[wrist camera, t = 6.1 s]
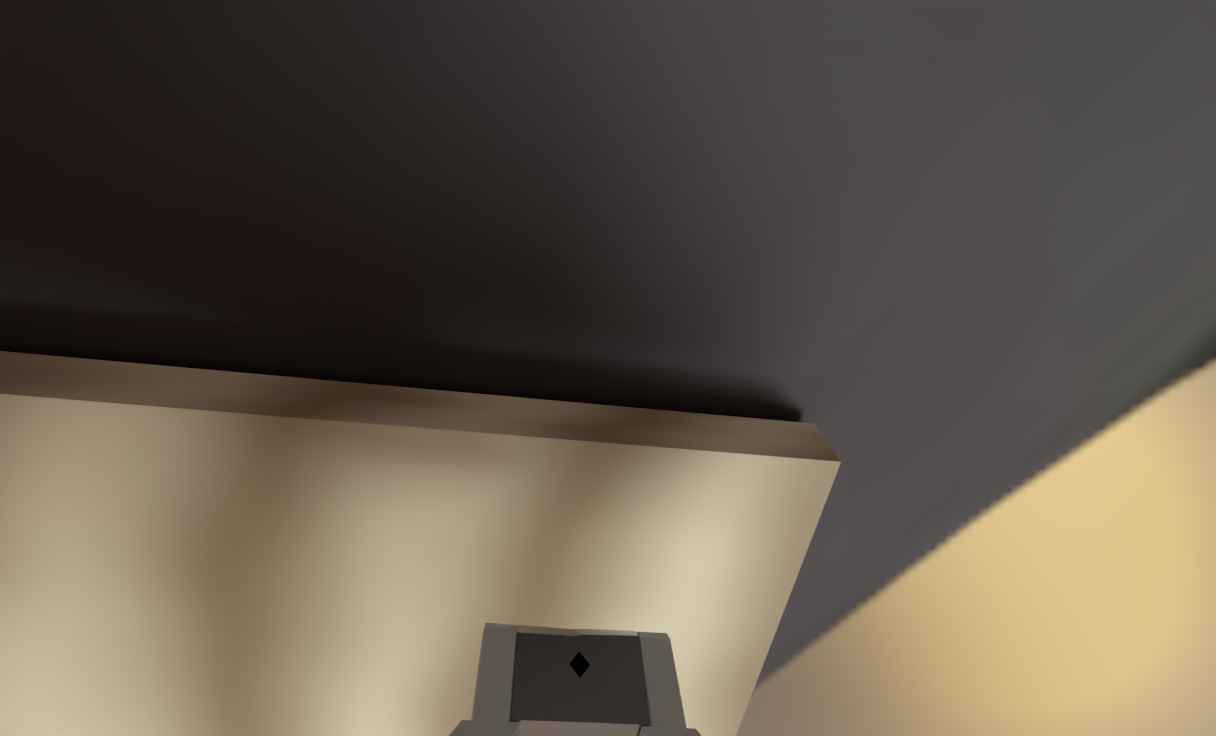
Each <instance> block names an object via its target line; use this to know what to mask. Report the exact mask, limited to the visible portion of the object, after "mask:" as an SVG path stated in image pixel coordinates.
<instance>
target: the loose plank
mask: <svg viewBox="0 0 1216 736" xmlns="http://www.w3.org/2000/svg"><path fill="white" fill-rule="evenodd" d="M840 463H841V461H840V459H839V458H838V457H837V455H836V454H835V452H834V451H833V449H832V448H831V446H830V445H829V443H828V442H827V440H826V439H825V438H824V436H823V435H822V433H821V432H820V430H819V429H818V427H817V426H816V424H813V423H802V422H791V421H779V420H768V419H757V418H746V417H735V416H723V415H712V414H701V413H690V412H678V411H667V410H656V409H645V408H634V407H622V406H611V405H600V404H589V403H577V402H566V401H555V400H544V399H533V398H521V397H510V396H499V395H488V394H476V393H465V392H454V391H443V390H431V389H420V388H409V387H398V386H387V385H375V384H364V383H353V382H342V381H330V380H319V379H308V378H297V377H286V376H274V375H263V374H252V373H241V372H229V371H218V370H207V369H196V368H185V367H173V366H162V365H151V364H140V363H128V362H117V361H106V360H95V359H84V358H72V357H61V356H50V355H39V354H27V353H16V352H5V351H0V736H449V735H450V733H451V732H452V731H453V730H454V729H455V727H456V726H457V725H458V724H459V722H460V721H461V720H471V718H472V710H473V703H474V696H475V688H476V681H477V673H478V666H479V658H480V651H481V644H482V636H483V630H484V627H485V623H499V624H513V625H516V626H517V625H528V626H540V627H552V628H564V629H577V628H579V629H603V630H627V631H635V632H654V633H667V634H668V636H669V638H670V640H671V645H672V651H673V656H674V662H675V667H676V673H677V678H678V683H679V689H680V694H681V700H682V705H683V711H684V716H685V721H686V727H687V728H694V729H697V731H698V732H699V733H700V734H701V736H736V734H737V731H738V729H739V726H740V723H741V721H742V718H743V716H744V713H745V710H746V708H747V705H748V703H749V700H750V697H751V695H752V692H753V690H754V687H755V684H756V682H757V679H758V677H759V674H760V671H761V669H762V666H763V664H764V661H765V658H766V656H767V653H768V651H769V648H770V645H771V643H772V640H773V638H774V635H775V632H776V630H777V627H778V625H779V622H780V619H781V617H782V614H783V612H784V609H785V606H786V604H787V601H788V599H789V596H790V593H791V591H792V588H793V586H794V583H795V580H796V578H797V575H798V573H799V570H800V567H801V565H802V562H803V560H804V557H805V554H806V552H807V549H808V547H809V544H810V541H811V539H812V536H813V534H814V531H815V528H816V526H817V523H818V521H819V518H820V515H821V513H822V510H823V508H824V505H825V502H826V500H827V497H828V495H829V492H830V489H831V487H832V484H833V482H834V479H835V476H836V474H837V471H838V469H839V466H840Z"/></svg>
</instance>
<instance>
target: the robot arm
mask: <svg viewBox="0 0 1216 736" xmlns="http://www.w3.org/2000/svg"><path fill="white" fill-rule="evenodd" d="M449 736H701V734H700V733H699V732H698V731H697V729H694V728H687V727H686V721H685V716H684V711H683V705H682V700H681V694H680V689H679V683H678V678H677V673H676V667H675V662H674V656H673V651H672V645H671V640H670V638H669V636H668V634H667V633H654V632H635V631H627V630H603V629H579V628H577V629H564V628H552V627H540V626H528V625H517V626H516V625H513V624H499V623H485V627H484V630H483V636H482V644H481V651H480V658H479V666H478V673H477V681H476V688H475V696H474V703H473V710H472V718H471V720H461V721H460V722H459V724H458V725H457V726H456V727H455V729H454V730H453V731H452V732H451V733H450V735H449Z"/></svg>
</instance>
